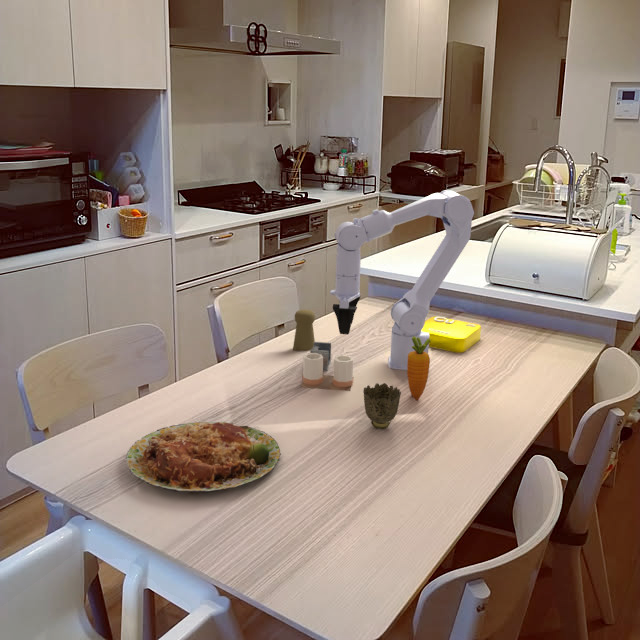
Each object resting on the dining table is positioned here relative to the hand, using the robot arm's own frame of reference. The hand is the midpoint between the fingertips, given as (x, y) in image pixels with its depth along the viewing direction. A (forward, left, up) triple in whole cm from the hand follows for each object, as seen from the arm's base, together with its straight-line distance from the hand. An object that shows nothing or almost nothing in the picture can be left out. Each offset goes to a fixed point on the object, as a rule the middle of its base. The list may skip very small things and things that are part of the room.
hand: (346, 328), depth 171 cm
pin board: (+2, +13, -10) cm, 17 cm away
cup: (-11, +31, -10) cm, 34 cm away
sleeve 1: (+6, +13, -9) cm, 17 cm away
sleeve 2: (-1, +13, -9) cm, 16 cm away
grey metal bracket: (+2, +3, -10) cm, 11 cm away
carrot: (-18, +17, -10) cm, 26 cm away
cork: (+11, -9, -10) cm, 18 cm away
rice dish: (+20, +50, -10) cm, 55 cm away
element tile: (-25, -25, -10) cm, 37 cm away
